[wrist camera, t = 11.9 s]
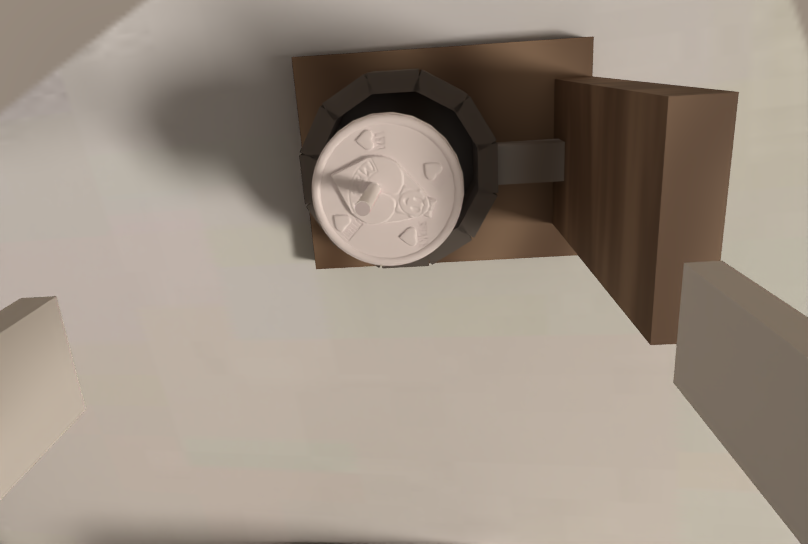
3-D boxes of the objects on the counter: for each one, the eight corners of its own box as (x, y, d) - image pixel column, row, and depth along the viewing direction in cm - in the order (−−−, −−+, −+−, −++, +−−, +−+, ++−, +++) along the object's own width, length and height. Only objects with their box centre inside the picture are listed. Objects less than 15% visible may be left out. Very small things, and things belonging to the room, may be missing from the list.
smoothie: (361, 89, 34) (313, 91, 20) (473, 127, 34) (498, 153, 20) (329, 200, 35) (265, 270, 22) (435, 235, 36) (436, 324, 22)
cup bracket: (320, 261, 38) (245, 415, 22) (296, 57, 34) (184, 56, 18) (579, 247, 38) (705, 394, 21) (586, 37, 34) (747, 17, 17)
